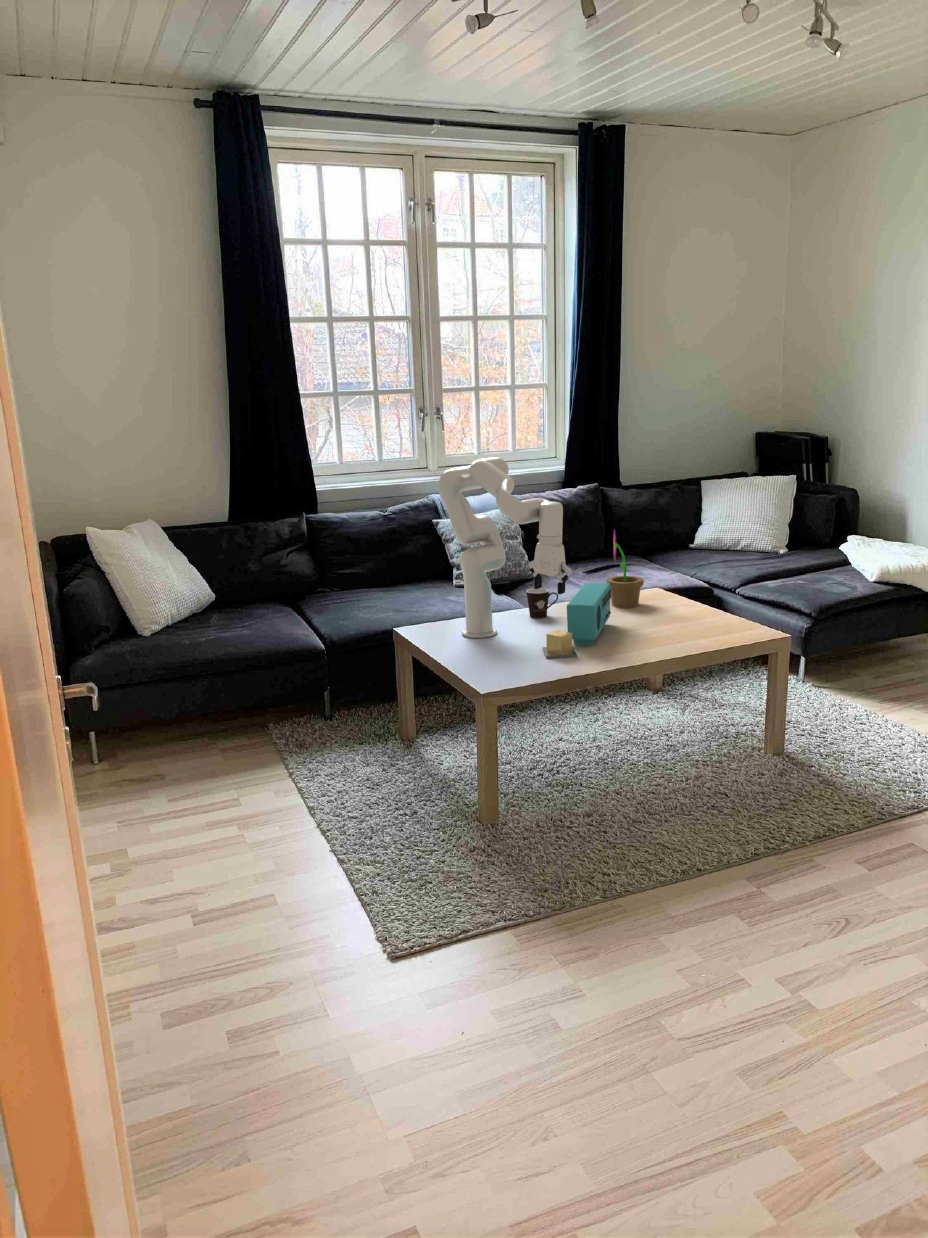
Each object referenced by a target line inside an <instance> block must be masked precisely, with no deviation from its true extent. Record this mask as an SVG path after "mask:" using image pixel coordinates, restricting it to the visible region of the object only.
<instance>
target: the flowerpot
mask: <svg viewBox="0 0 928 1238" xmlns="http://www.w3.org/2000/svg"><path fill="white" fill-rule="evenodd" d="M612 540H613V542H612V543H613V551H612V552H613V560H614V562H616V560H617V559H616V558H617V549H618V550H619V553H620V555H621V558H622V561H621V563H620V565H619V567H620V568H621V569H623V575H615V576H611V577H608V578H607V579H606V583H609V584H610V587H611V598H610V603H611V606H612V607H614V608H619V609H632V608H636V607H638V606H639V602H640V594H641V587H643V586H644V583H645V579H644V578H643V577H641V576H636V575H627V562H626V557H625V554H624V551H623V549H622V548H621V546H620V545H619V544H618V543H617V535H616V529H615V528H614V529H613V539H612Z"/></svg>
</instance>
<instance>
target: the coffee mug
mask: <svg viewBox="0 0 928 1238" xmlns="http://www.w3.org/2000/svg"><path fill="white" fill-rule="evenodd" d="M525 592H526V598H527V605H528V612H529V617H530V618H532V619H544V618H546V617H548V610H549V608H551V607H552V606H553V605H555V604H556V602H557V601H558V599H559V594H558V592H555V591H553V592H550V589H548V588H543V587H541V588H539V589H534V588H529V589H527V590H526V591H525ZM551 595H555V596H556V598H555V600H554V601H553V602H552V603H550V604H549V598H550V596H551Z"/></svg>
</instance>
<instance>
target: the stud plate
mask: <svg viewBox="0 0 928 1238" xmlns="http://www.w3.org/2000/svg"><path fill="white" fill-rule="evenodd" d="M542 652H543V654H544V657H545V659H546V660H550V659H569V658H571V659H573V658H578V654H577V652H576V650H575V648H574V646H573V645H572V650H571V651H568V652H566V653H563V654H557V653H552V652H548V651H547V646H543V647H542Z"/></svg>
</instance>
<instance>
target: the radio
mask: <svg viewBox="0 0 928 1238" xmlns="http://www.w3.org/2000/svg"><path fill="white" fill-rule="evenodd" d="M611 613H612V611H611V587H610V584H609V583H607V582H585V583H584V584H583V585H582V586H581V587H580V589H579V590H578V591H577V592H576V594H575V595H574V596H573V597H572V598H571V600H569V602H568V604H567V605H566V620H567V621H566V625H567V632H572V641H573V643H574V644H573V645H580V646H589V647H590V646H591V647H592V646H593V643H594V641H595V640H597V637H598V636H599V634H600V633H601V632H602V630H603V628H604V627H605V626H606V623H607V622H608V620H609V618H610V616H611Z"/></svg>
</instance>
